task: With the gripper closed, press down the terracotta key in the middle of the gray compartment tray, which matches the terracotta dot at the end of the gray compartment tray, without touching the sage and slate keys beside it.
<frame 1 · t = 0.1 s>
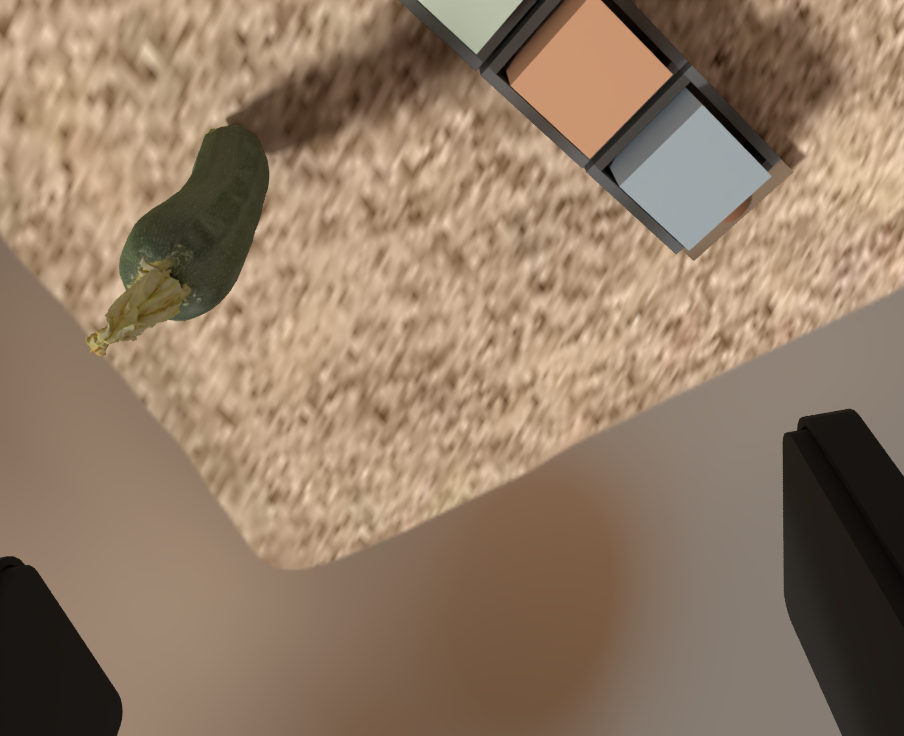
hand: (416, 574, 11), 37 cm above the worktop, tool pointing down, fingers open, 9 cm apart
vegetable: (248, 150, 45), on the worktop
gray compartment tray: (572, 49, 42), on the worktop
terracotta key: (584, 69, 39), point 4 cm above the worktop, slide at 0.0 cm
slate key: (684, 167, 41), point 4 cm above the worktop, slide at 0.0 cm
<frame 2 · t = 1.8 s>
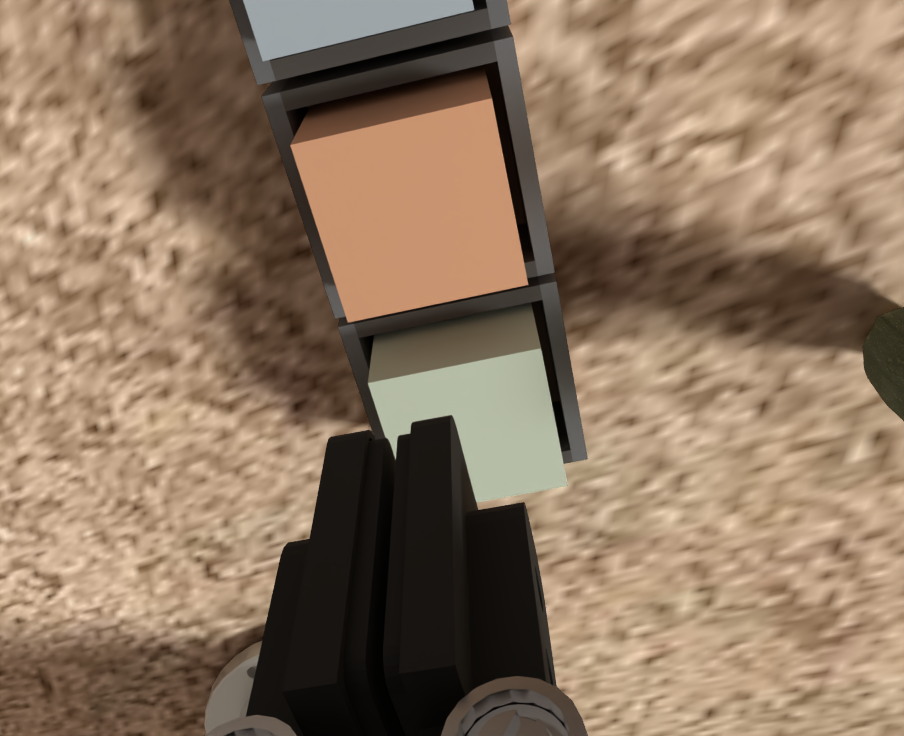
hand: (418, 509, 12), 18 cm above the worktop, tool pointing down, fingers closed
vegetable: (885, 303, 30), on the worktop
sage key: (469, 399, 27), point 4 cm above the worktop, slide at 0.0 cm
gray compartment tray: (418, 148, 27), on the worktop
terracotta key: (416, 192, 23), point 4 cm above the worktop, slide at 0.0 cm
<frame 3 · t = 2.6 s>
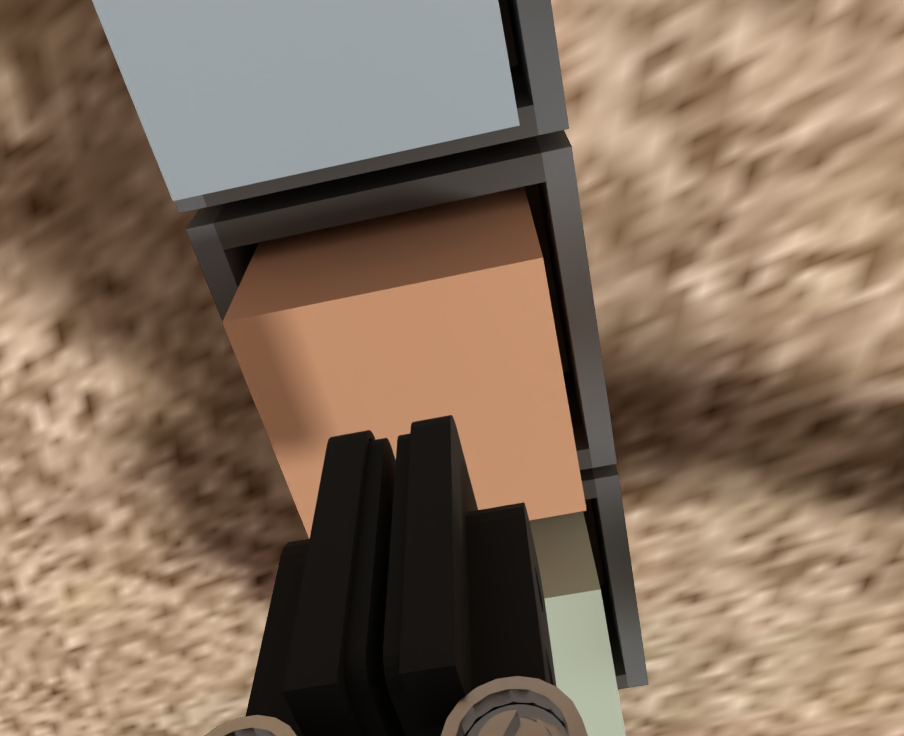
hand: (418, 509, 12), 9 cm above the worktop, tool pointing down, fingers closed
sage key: (490, 619, 19), point 4 cm above the worktop, slide at 0.0 cm
gray compartment tray: (422, 268, 19), on the worktop
terracotta key: (419, 362, 16), point 4 cm above the worktop, slide at 0.0 cm
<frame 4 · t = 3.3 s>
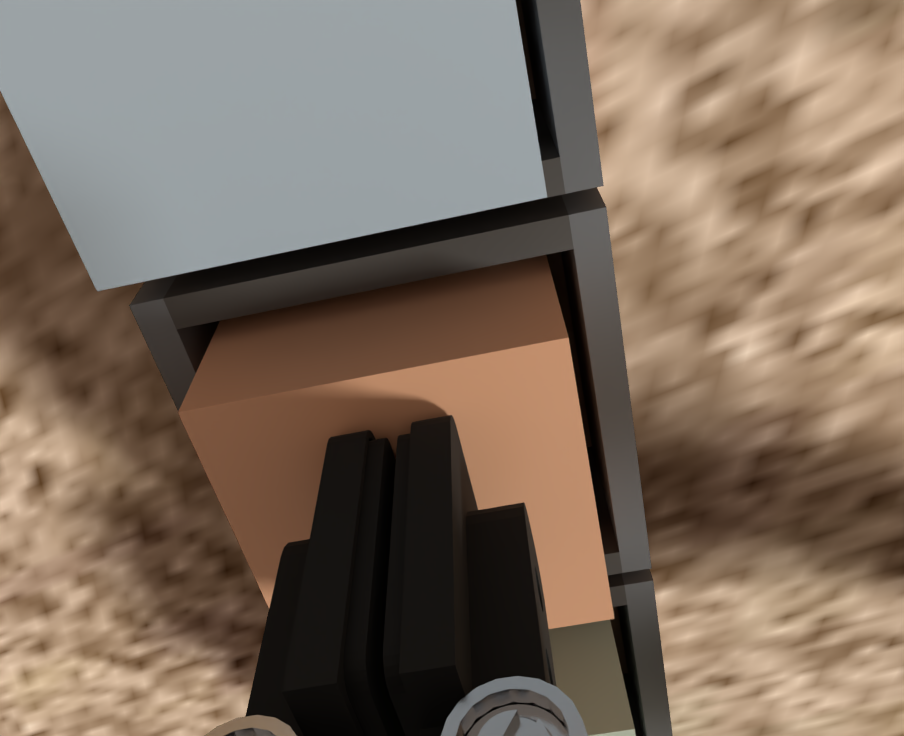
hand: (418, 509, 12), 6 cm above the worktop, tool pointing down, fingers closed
sage key: (500, 735, 17), point 4 cm above the worktop, slide at 0.0 cm
gray compartment tray: (421, 327, 17), on the worktop
terracotta key: (418, 439, 14), point 4 cm above the worktop, slide at 0.5 cm
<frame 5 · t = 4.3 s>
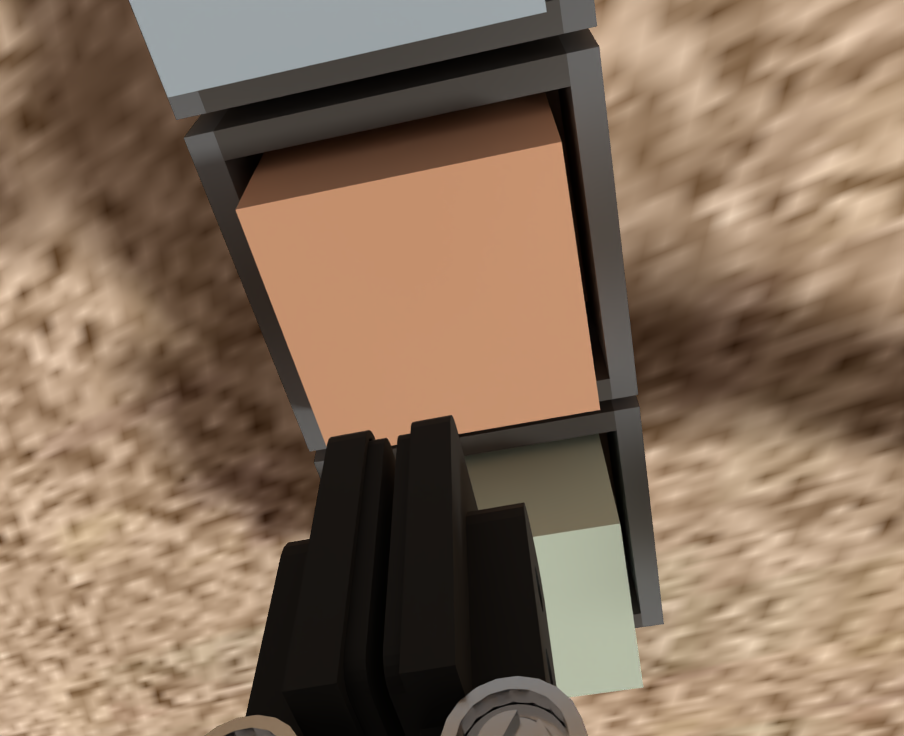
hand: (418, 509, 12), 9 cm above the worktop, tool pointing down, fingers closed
sage key: (503, 556, 19), point 4 cm above the worktop, slide at 0.0 cm
gray compartment tray: (435, 191, 18), on the worktop
terracotta key: (433, 261, 16), point 3 cm above the worktop, slide at 0.9 cm
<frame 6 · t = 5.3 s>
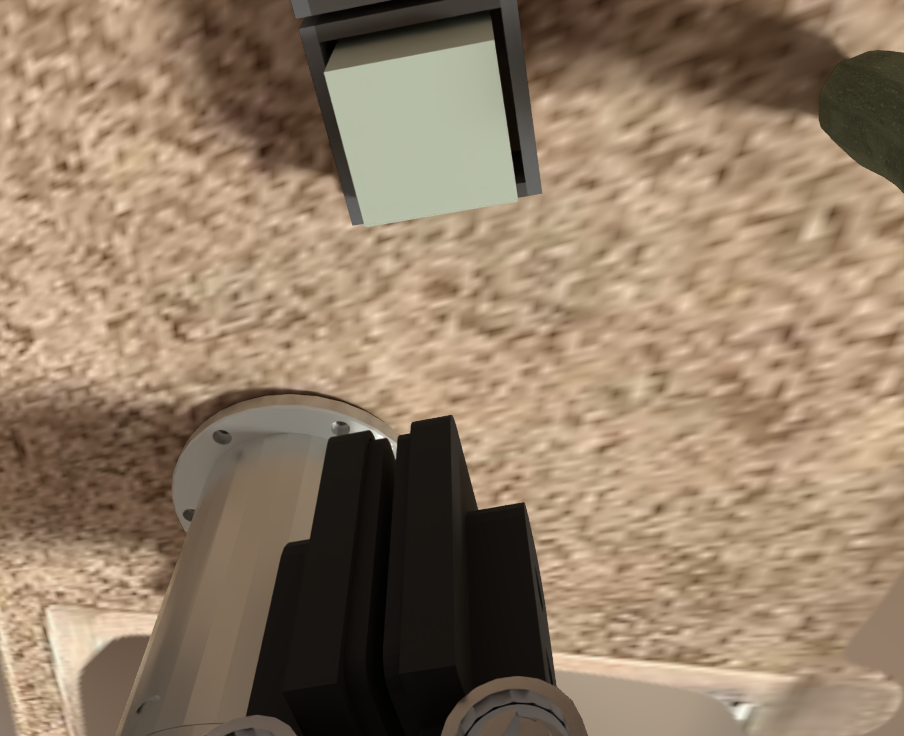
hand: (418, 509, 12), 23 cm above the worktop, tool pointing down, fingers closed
vegetable: (846, 63, 31), on the worktop
sage key: (427, 117, 27), point 4 cm above the worktop, slide at 0.0 cm
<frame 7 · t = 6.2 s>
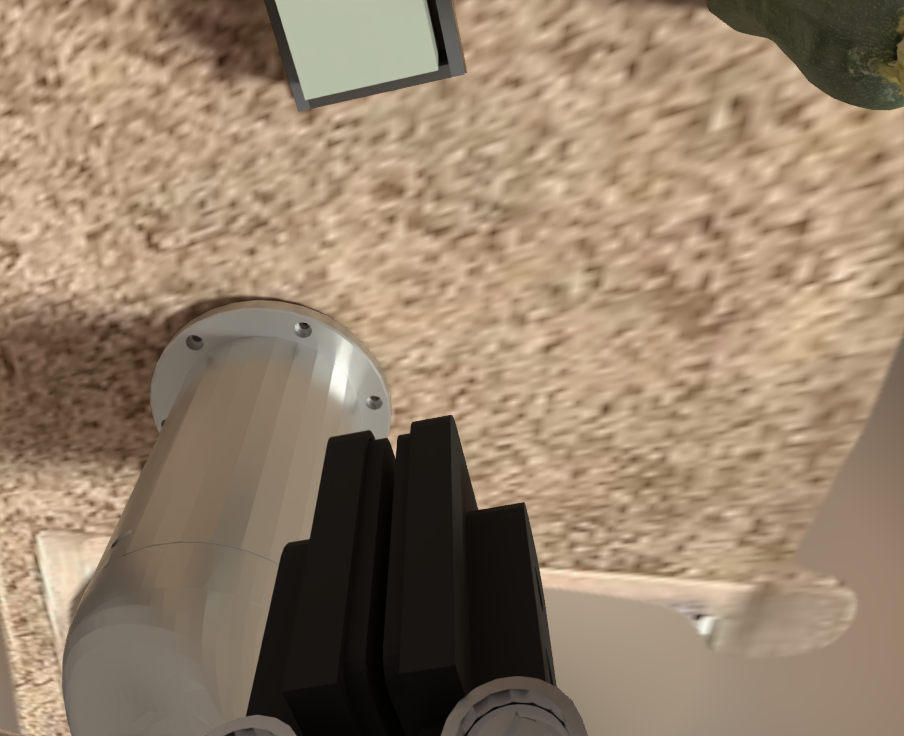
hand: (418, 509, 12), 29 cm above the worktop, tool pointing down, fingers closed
sage key: (357, 4, 31), point 4 cm above the worktop, slide at 0.0 cm
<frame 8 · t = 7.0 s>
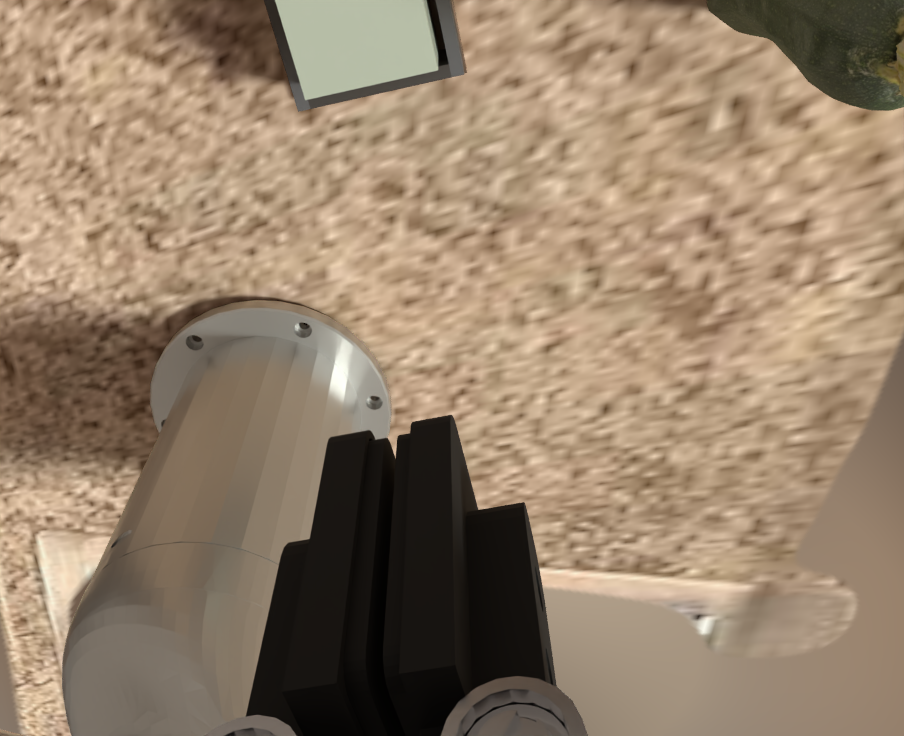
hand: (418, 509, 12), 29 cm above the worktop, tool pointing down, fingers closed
sage key: (357, 4, 31), point 4 cm above the worktop, slide at 0.0 cm
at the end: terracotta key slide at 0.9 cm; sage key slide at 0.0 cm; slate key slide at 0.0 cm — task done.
